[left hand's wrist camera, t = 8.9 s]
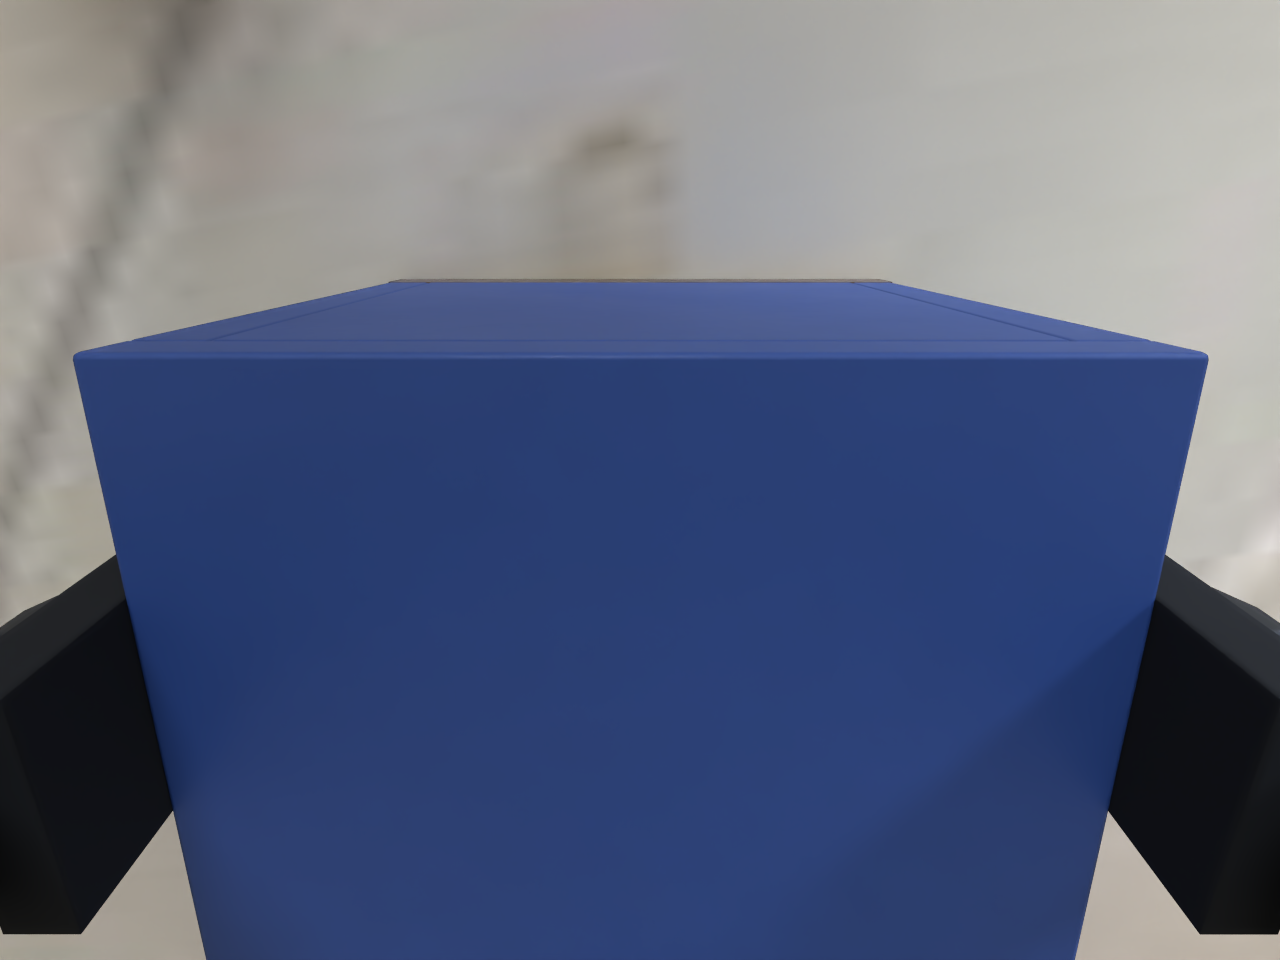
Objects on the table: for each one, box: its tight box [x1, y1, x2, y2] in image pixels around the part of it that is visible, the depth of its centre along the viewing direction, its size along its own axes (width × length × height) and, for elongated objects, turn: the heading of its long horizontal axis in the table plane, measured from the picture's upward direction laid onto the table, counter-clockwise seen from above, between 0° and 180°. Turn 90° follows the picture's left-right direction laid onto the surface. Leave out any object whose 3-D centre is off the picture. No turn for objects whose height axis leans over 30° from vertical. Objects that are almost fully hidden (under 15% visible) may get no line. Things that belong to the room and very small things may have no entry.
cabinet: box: [73, 279, 1208, 960], centre depth 16 cm, size 22×11×11 cm, turn 0°
